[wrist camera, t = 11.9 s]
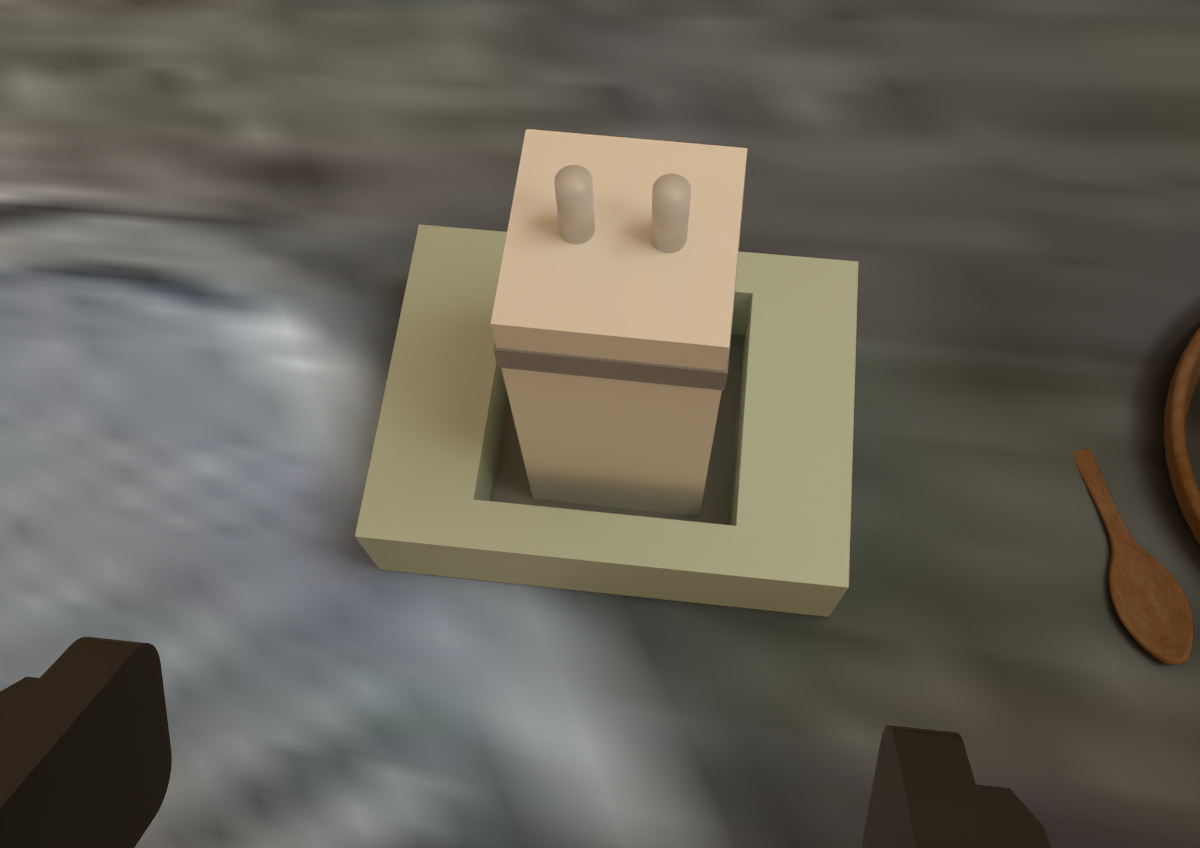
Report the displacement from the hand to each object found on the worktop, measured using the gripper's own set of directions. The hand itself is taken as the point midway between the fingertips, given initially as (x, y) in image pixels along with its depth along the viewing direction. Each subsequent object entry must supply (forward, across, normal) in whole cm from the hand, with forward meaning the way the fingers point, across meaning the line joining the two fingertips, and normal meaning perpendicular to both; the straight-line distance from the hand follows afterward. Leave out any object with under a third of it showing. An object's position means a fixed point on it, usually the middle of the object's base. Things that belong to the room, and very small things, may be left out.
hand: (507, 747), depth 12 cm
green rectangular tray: (+19, 0, +5) cm, 20 cm away
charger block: (+19, 0, +4) cm, 19 cm away
